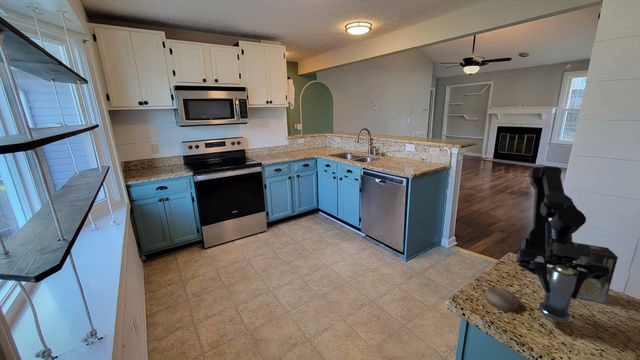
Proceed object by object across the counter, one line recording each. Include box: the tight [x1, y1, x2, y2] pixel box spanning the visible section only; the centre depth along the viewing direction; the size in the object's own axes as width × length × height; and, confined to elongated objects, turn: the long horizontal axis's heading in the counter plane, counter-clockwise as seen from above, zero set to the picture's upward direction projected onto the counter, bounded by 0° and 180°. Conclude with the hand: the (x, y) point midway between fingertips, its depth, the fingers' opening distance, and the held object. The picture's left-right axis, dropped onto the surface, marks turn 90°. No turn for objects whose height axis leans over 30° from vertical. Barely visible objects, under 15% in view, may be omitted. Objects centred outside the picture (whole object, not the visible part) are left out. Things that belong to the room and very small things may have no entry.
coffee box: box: [568, 242, 619, 304], centre depth 83 cm, size 9×6×16 cm
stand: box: [484, 286, 519, 312], centre depth 82 cm, size 8×8×2 cm
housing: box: [538, 265, 578, 323], centre depth 71 cm, size 6×6×14 cm
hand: (560, 295), depth 70 cm, fingers closed on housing, 5 cm apart
